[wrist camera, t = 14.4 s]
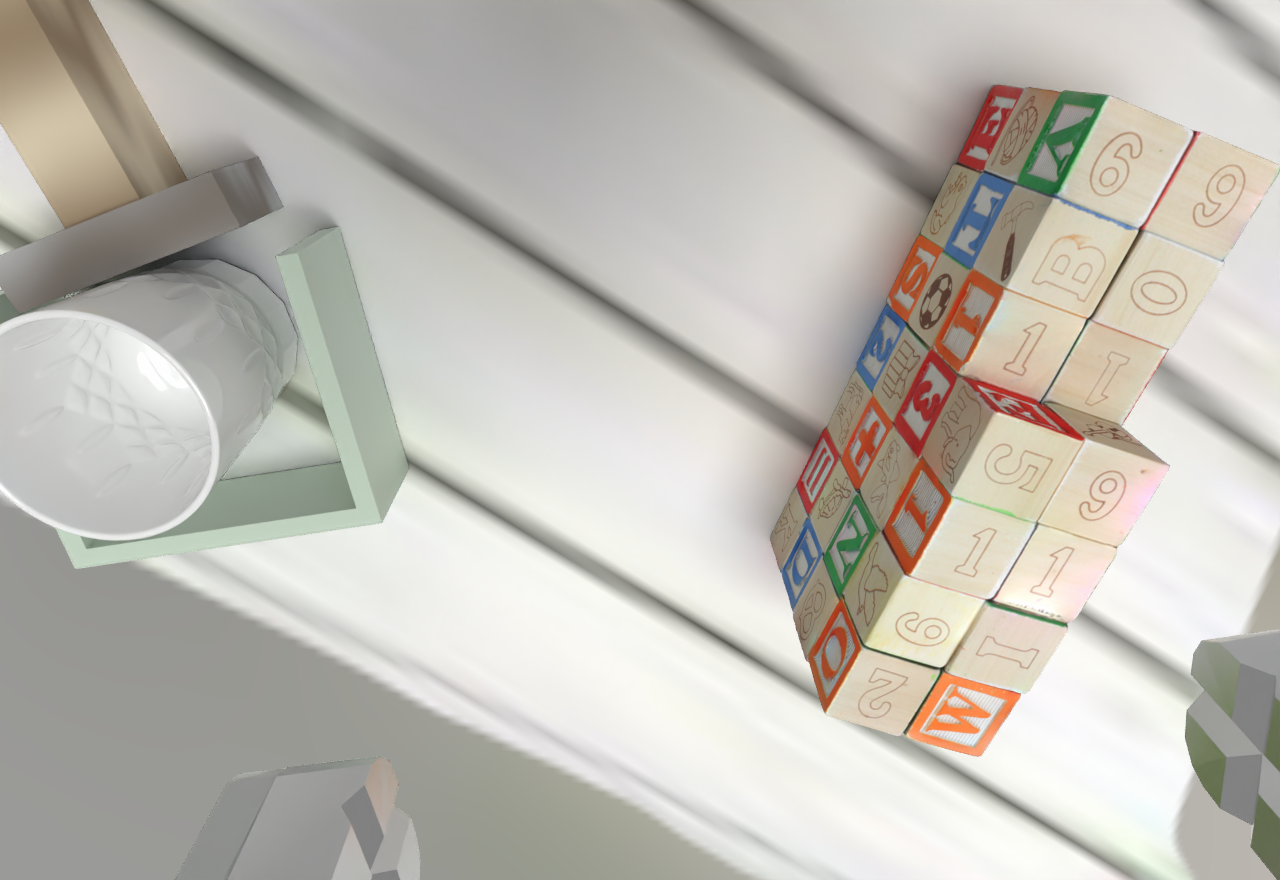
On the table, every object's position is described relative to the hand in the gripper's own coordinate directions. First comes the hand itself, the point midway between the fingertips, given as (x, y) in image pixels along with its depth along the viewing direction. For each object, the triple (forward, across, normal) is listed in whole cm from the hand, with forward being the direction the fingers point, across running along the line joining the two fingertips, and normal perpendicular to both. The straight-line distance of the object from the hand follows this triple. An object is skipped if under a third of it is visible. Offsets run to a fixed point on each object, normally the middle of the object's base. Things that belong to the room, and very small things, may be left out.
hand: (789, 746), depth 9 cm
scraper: (+29, +20, -10) cm, 37 cm away
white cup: (+29, +19, +2) cm, 35 cm away
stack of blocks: (+30, -11, +7) cm, 32 cm away
